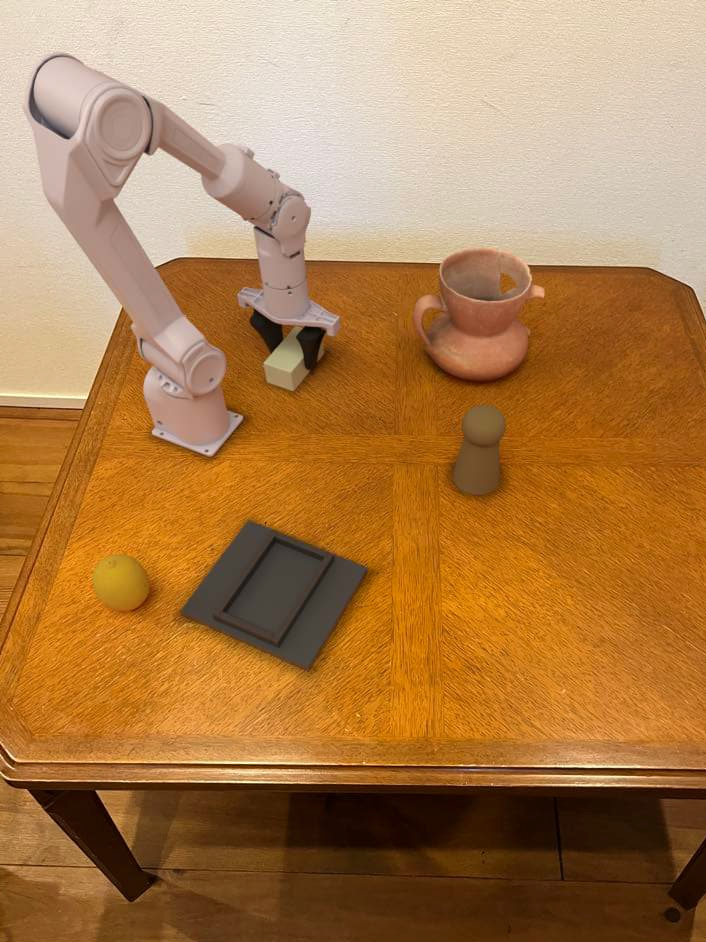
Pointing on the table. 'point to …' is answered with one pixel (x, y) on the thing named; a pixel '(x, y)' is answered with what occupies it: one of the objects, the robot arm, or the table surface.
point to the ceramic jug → (478, 315)
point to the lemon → (120, 582)
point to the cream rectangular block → (288, 363)
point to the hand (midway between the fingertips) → (294, 360)
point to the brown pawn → (480, 450)
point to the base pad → (276, 594)
